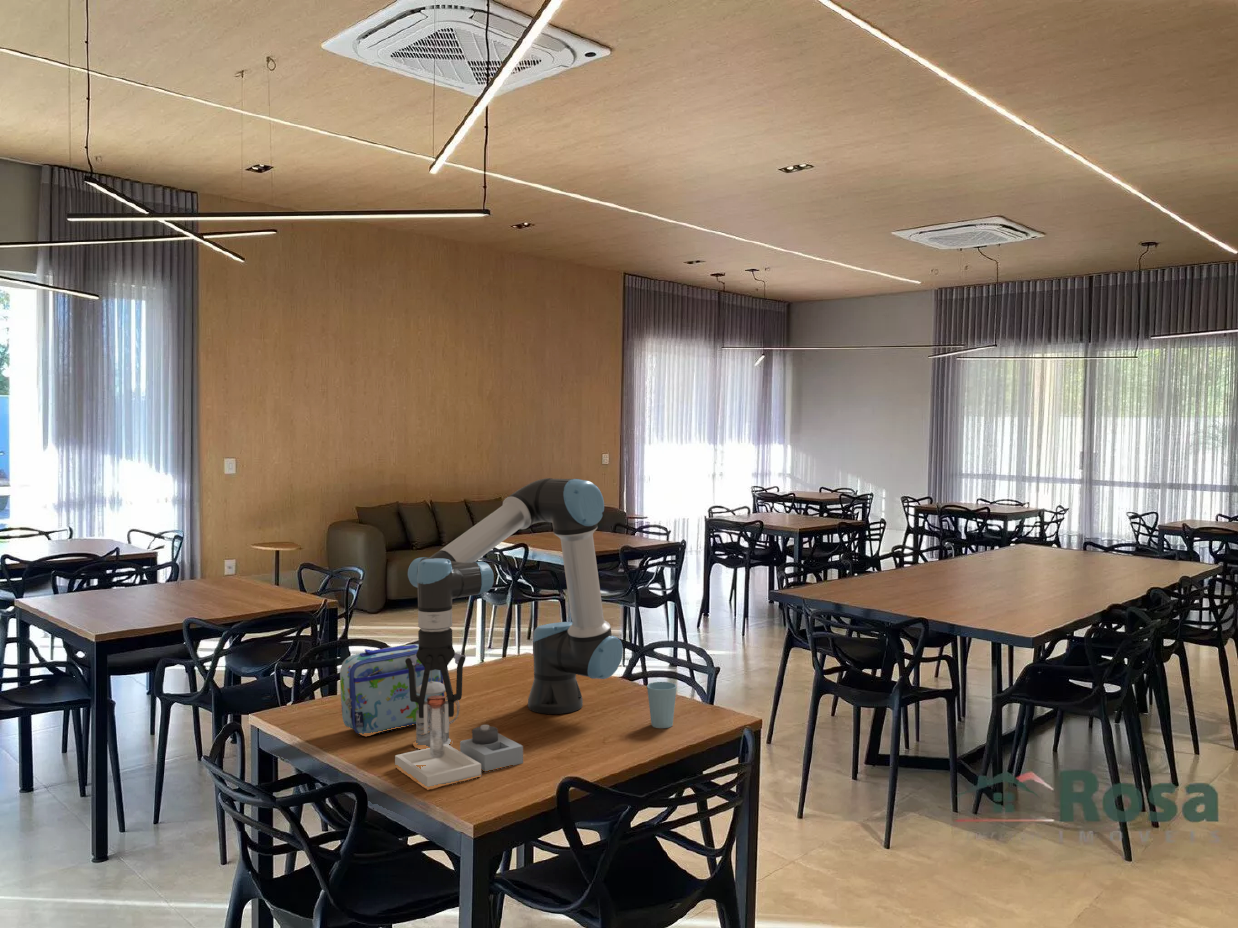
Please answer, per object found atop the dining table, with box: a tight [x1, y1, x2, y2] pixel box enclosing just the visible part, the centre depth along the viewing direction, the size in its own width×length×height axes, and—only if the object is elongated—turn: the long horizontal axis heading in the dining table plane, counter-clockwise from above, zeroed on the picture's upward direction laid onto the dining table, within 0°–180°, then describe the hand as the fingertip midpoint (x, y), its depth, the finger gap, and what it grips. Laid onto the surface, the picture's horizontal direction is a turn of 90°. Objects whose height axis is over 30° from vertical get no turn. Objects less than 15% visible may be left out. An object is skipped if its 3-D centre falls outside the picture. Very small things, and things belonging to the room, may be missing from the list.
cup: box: [646, 681, 678, 729], centre depth 250 cm, size 8×8×10 cm
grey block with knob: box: [459, 724, 524, 771], centre depth 224 cm, size 12×10×7 cm
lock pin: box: [427, 695, 446, 758], centre depth 216 cm, size 4×4×13 cm
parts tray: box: [394, 744, 482, 787], centre depth 217 cm, size 17×13×3 cm
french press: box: [415, 670, 460, 747], centre depth 236 cm, size 10×12×25 cm
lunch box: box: [339, 643, 445, 735], centre depth 250 cm, size 26×11×21 cm, turn 126°
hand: (436, 731), depth 216 cm, fingers closed on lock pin, 4 cm apart
